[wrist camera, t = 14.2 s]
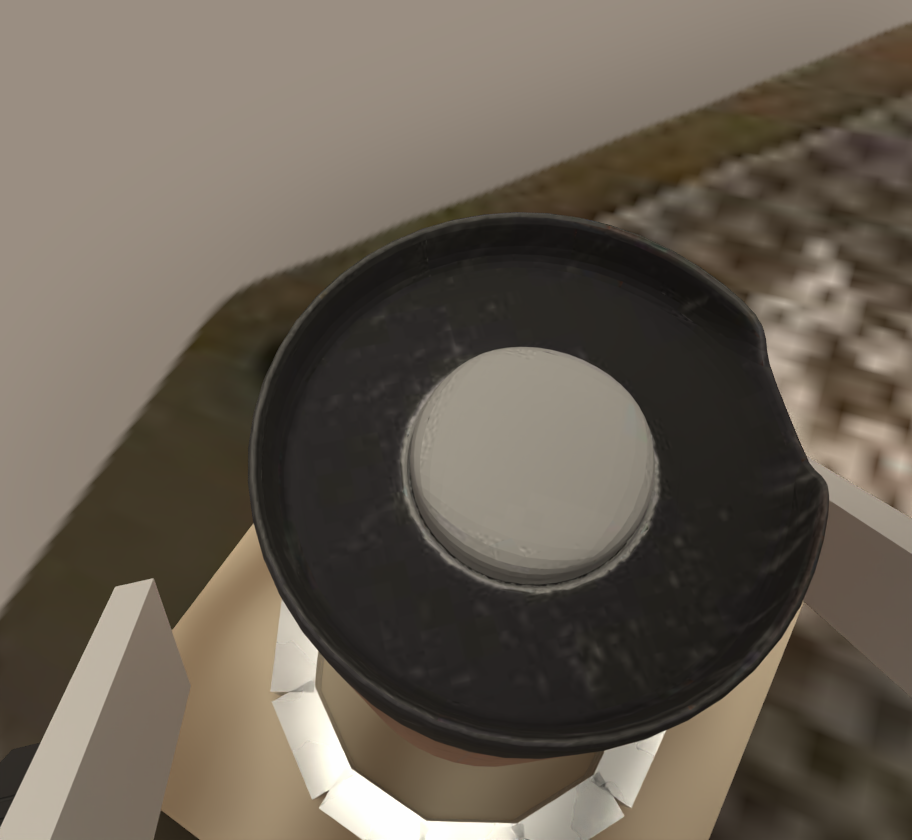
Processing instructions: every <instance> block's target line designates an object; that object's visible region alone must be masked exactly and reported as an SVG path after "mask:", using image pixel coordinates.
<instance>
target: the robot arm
mask: <svg viewBox="0 0 912 840" xmlns="http://www.w3.org/2000/svg"><path fill="white" fill-rule="evenodd" d="M807 459H808V461H809V463H810V464H811V465H812V467H813V468H814V469H815V470H816V471H817V472H818V473H819V474H820V475H821V476H822V477H823V478H824V480H825V481H826V483H827V485H828V490H829V511H828V520H827V525H826V531H825V537H824V542H823V545H822V549H821V552H820V556H819V560H818V563H817V567H816V570H815V573H814V575H813V578H812V580H811V583H810V585H809V588H808V590H807V592H806V595H805V597H804V600H803V601H804V602H805V603H806V604H807V605H809V606H810V607H811V608H812V609H813V610H814V611H815V612H816V613H817V614H819V615H820V616H821V617H822V618H823V619H824V620H825V621H826V622H828V623H829V624H830V625H831V626H832V627H833V628H834V629H835V630H836V631H838V632H839V633H840V634H841V635H842V636H843V637H844V638H845V639H847V640H848V641H849V642H850V643H851V644H852V645H853V646H854V647H855V648H857V649H858V650H859V651H860V652H861V653H862V654H863V655H864V656H866V657H867V658H868V659H869V660H870V661H871V662H872V663H873V664H875V665H876V666H877V667H878V668H879V669H880V670H881V671H882V672H883V673H885V674H886V675H887V676H888V677H889V678H890V679H891V680H892V681H894V682H895V683H896V684H897V685H898V686H899V687H900V688H901V689H902V690H904V691H905V692H906V693H907V694H908V695H909V696H910V697H911V698H912V518H910V517H908V516H907V515H905V514H903V513H902V512H900V511H898V510H896V509H895V508H893V507H891V506H890V505H888V504H886V503H885V502H883V501H881V500H880V499H878V498H876V497H875V496H873V495H871V494H869V493H868V492H866V491H864V490H863V489H861V488H859V487H858V486H856V485H854V484H853V483H851V482H849V481H848V480H846V479H844V478H842V477H841V476H839V475H837V474H836V473H834V472H832V471H831V470H829V469H827V468H826V467H824V466H822V465H821V464H819V463H817V462H815V461H814V460H812V459H810V458H809V457H807ZM190 687H191V685H190V682H189V679H188V677H187V674H186V671H185V668H184V665H183V662H182V659H181V656H180V653H179V650H178V648H177V645H176V642H175V639H174V636H173V633H172V630H171V627H170V624H169V621H168V619H167V616H166V613H165V610H164V607H163V604H162V601H161V598H160V595H159V593H158V590H157V587H156V584H155V581H154V578H153V579H148V580H144V581H139V582H135V583H130V584H126V585H121V586H117V587H115V589H114V591H113V593H112V595H111V597H110V599H109V601H108V603H107V605H106V607H105V609H104V611H103V614H102V616H101V618H100V620H99V622H98V624H97V626H96V628H95V630H94V632H93V634H92V637H91V639H90V641H89V643H88V645H87V647H86V649H85V651H84V653H83V655H82V657H81V660H80V662H79V664H78V666H77V668H76V670H75V672H74V674H73V676H72V678H71V680H70V683H69V685H68V687H67V689H66V691H65V693H64V695H63V697H62V699H61V701H60V703H59V706H58V708H57V710H56V712H55V714H54V716H53V718H52V720H51V722H50V724H49V726H48V729H47V731H46V733H45V735H44V737H43V739H42V741H41V743H37V744H33V745H29V746H25V747H20V748H16V749H12V750H11V751H10V753H9V754H8V755H7V756H6V757H5V758H4V759H3V760H2V761H1V762H0V840H154V835H155V831H156V827H157V823H158V819H159V815H160V811H161V807H162V802H163V798H164V794H165V790H166V786H167V782H168V778H169V774H170V769H171V765H172V761H173V757H174V753H175V749H176V745H177V741H178V736H179V732H180V728H181V724H182V720H183V716H184V712H185V708H186V703H187V699H188V695H189V691H190Z"/></svg>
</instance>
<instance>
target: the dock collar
mask: <svg viewBox="0 0 912 840" xmlns="http://www.w3.org/2000/svg"><path fill="white" fill-rule="evenodd" d="M323 663H324V657H323V656H322V655H321V654H320V652H319V651H318V650H317V649H316V648H315V647H314V645H313V644H312V643H311V642H310V641H309V639H308V638H307V637H306V636H305V635H304V633H303V632H302V631H301V629H300V627H299V626H298V624H297V623H296V621H295V619H294V618H293V616H292V615H291V613H290V611H289V610H288V608H287V607H286V605H285V603H284V602H283V600H282V601H281V610H280V618H279V626H278V634H277V642H276V650H275V658H274V666H273V674H272V682H271V690H270V692H273V693H275V694H277V695H283V696H281V697H279V698H278V699H276V700H274V701H272V704H273V706H274V709H275V711H276V714H277V716H278V718H279V721H280V723H281V726H282V728H283V730H284V733H285V735H286V738H287V740H288V743H289V745H290V747H291V750H292V752H293V755H294V757H295V760H296V762H297V764H298V767H299V769H300V772H301V774H302V777H303V779H304V781H305V784H306V786H307V789H308V791H309V793H310V796H311V798H312V800H313V799H317V798H320V797H321V796H323V795H325V794H326V793H328V794H327V795H326V797H325V799H324V800H323V802H322V804H321V805H320V807H319V809H321V810H322V811H323V812H325V813H326V814H327V815H329V816H330V817H332V818H333V819H334V820H336V821H337V822H339V823H340V824H341V825H343V826H344V827H346V828H347V829H348V830H350V831H351V832H352V833H354V834H355V835H357V836H358V837H359V838H361V839H362V840H589V839H591V838H592V837H594V836H595V835H597V834H598V833H600V832H601V831H603V830H604V829H606V828H607V827H609V826H610V825H612V824H613V823H615V822H616V821H618V820H620V819H621V818H623V817H624V814H623V813H622V811H621V809H620V807H619V806H618V804H619V805H621V806H624V807H629V808H632V805H633V803H634V801H635V799H636V796H637V794H638V792H639V790H640V788H641V785H642V783H643V781H644V779H645V776H646V774H647V772H648V770H649V767H650V765H651V763H652V761H653V759H654V756H655V754H656V752H657V750H658V747H659V745H660V743H661V741H662V738H663V736H664V734H665V732H666V731H664V732H661V733H659V734H657V735H654V736H652V737H650V738H648V739H645V740H642V741H638V742H634V743H631V744H627V745H623V746H620V747H616V748H612V749H609V750H605V751H599V752H596V754H595V756H594V758H593V760H592V762H591V764H590V766H589V768H588V770H587V772H586V774H585V775H584V776H582V777H581V778H579V779H578V780H576V781H574V782H573V783H571V784H570V785H568V786H567V787H565V788H563V789H562V790H560V791H559V792H557V793H556V794H554V795H552V796H551V797H549V798H548V799H546V800H544V801H543V802H541V803H540V804H538V805H537V806H535V807H533V808H532V809H530V810H529V811H527V812H526V813H524V814H522V815H521V816H519V817H518V818H516V819H515V820H478V819H440V818H426V817H425V816H423V815H422V814H420V813H419V812H417V811H416V810H414V809H413V808H412V807H410V806H409V805H407V804H406V803H404V802H403V801H402V800H400V799H399V798H397V797H396V796H394V795H393V794H392V793H390V792H389V791H387V790H386V789H384V788H383V787H382V786H380V785H379V784H377V783H376V782H374V781H373V780H372V779H370V778H369V777H367V776H366V775H364V774H363V773H361V772H360V771H359V770H357V769H356V768H355V766H354V764H353V761H352V759H351V757H350V755H349V752H348V750H347V748H346V746H345V743H344V741H343V739H342V736H341V734H340V732H339V730H338V727H337V725H336V723H335V721H334V718H333V716H332V714H331V712H330V709H329V707H328V705H327V702H326V700H325V698H324V696H323V693H322V691H321V684H322V674H323Z"/></svg>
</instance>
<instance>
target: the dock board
mask: <svg viewBox="0 0 912 840" xmlns="http://www.w3.org/2000/svg"><path fill="white" fill-rule="evenodd" d="M281 601H282V598H281V597H280V595H279V593H278V590H277V588H276V586H275V584H274V581H273V579H272V577H271V574H270V572H269V570H268V568H267V565H266V563H265V561H264V559H263V555H262V552H261V548H260V544H259V541H258V537H257V534H256V530H255V526H254V524H253V525H252V526H251V527H250V529H249V530H248V531H247V533H246V534H245V535H244V537H243V538H242V539H241V541H240V542H239V543H238V545H237V546H236V547H235V549H234V550H233V551H232V552H231V554H230V555H229V556H228V558H227V559H226V560H225V562H224V563H223V564H222V566H221V567H220V568H219V570H218V571H217V572H216V574H215V575H214V576H213V577H212V579H211V580H210V581H209V583H208V584H207V585H206V587H205V588H204V589H203V591H202V592H201V593H200V595H199V596H198V597H197V599H196V600H195V601H194V602H193V604H192V605H191V606H190V608H189V609H188V610H187V612H186V613H185V614H184V616H183V617H182V618H181V620H180V621H179V622H178V624H177V625H176V626H175V628H174V629H173V630H172V633H173V636H174V639H175V642H176V645H177V648H178V650H179V653H180V656H181V659H182V662H183V665H184V668H185V671H186V674H187V677H188V679H189V682H190V685H191V687H190V691H189V695H188V699H187V703H186V708H185V712H184V716H183V720H182V724H181V728H180V732H179V736H178V741H177V745H176V749H175V753H174V757H173V761H172V765H171V769H170V774H169V778H168V782H167V786H166V790H165V794H164V798H163V802H162V807H161V810H162V811H163V812H164V813H166V814H167V815H168V816H170V817H171V818H172V819H174V820H175V821H176V822H177V823H179V824H180V825H181V826H183V827H184V828H185V829H187V830H188V831H189V832H191V833H192V834H193V835H195V836H196V837H197V838H198V839H200V840H362V839H361V838H359V837H358V836H357V835H355V834H354V833H352V832H351V831H350V830H348V829H347V828H346V827H344V826H343V825H341V824H340V823H339V822H337V821H336V820H334V819H333V818H332V817H330V816H329V815H327V814H326V813H325V812H323V811H322V810H321V809H319V807H320V805H321V804H322V802H323V800H324V799H325V797H326V795H327V794H328V793H326V794H325V795H323V796H321V797H320V798H317V799H313V800H312V798H311V796H310V793H309V791H308V789H307V786H306V784H305V781H304V779H303V777H302V774H301V772H300V769H299V767H298V764H297V762H296V760H295V757H294V755H293V752H292V750H291V747H290V745H289V743H288V740H287V738H286V735H285V733H284V730H283V728H282V726H281V723H280V721H279V718H278V716H277V714H276V711H275V709H274V706H273V704H272V701H274V700H276V699H278V698H279V697H281V696H283V695H277V694H275V693H273V692H270V690H271V682H272V674H273V666H274V658H275V650H276V642H277V634H278V626H279V618H280V610H281ZM803 603H804V601H803V602H802V604H801V606H800V608H799V610H798V611H797V613H796V615H795V616H794V618H793V620H792V621H791V623H790V625H789V627H788V628H787V630H786V632H785V633H784V635H783V637H782V638H781V639H780V641H779V642H778V643H777V644H776V645H775V647H774V648H773V649H772V650H771V651H770V653H769V654H768V655H767V656H766V657H765V659H764V660H763V661H762V662H761V663H760V665H759V666H758V667H757V668H756V669H755V670H754V671H753V672H752V673H751V674H750V675H749V676H748V677H747V678H746V679H744V680H743V681H742V682H741V683H740V684H739V685H738V686H736V687H735V688H734V689H733V690H732V691H731V692H730V693H729V694H727V695H726V696H725V697H724V698H723V699H721V700H720V701H718V702H716V703H715V704H713V705H712V706H710V707H709V708H707V709H705V710H704V711H702V712H701V713H699V714H698V715H696V716H694V717H693V718H691V719H690V720H688V721H686V722H684V723H682V724H679V725H677V726H675V727H673V728H670V729H668V730H666V732H665V734H664V736H663V738H662V741H661V743H660V745H659V747H658V750H657V752H656V754H655V756H654V759H653V761H652V763H651V765H650V767H649V770H648V772H647V774H646V776H645V779H644V781H643V783H642V785H641V788H640V790H639V792H638V794H637V796H636V799H635V801H634V803H633V805H632V808H629V807H624V806H621V805H619V804H618V806H619V807H620V809H621V811H622V813H623V814H624V817H623V818H621V819H620V820H618V821H616V822H615V823H613V824H612V825H610V826H609V827H607V828H606V829H604V830H603V831H601V832H600V833H598V834H597V835H595V836H594V837H592V838H591V839H589V840H709V837H710V835H711V832H712V830H713V827H714V825H715V822H716V820H717V817H718V815H719V812H720V810H721V807H722V805H723V802H724V800H725V797H726V795H727V792H728V790H729V787H730V785H731V782H732V780H733V777H734V775H735V772H736V770H737V767H738V765H739V762H740V760H741V758H742V755H743V753H744V750H745V748H746V745H747V743H748V740H749V738H750V735H751V733H752V730H753V728H754V725H755V723H756V720H757V718H758V715H759V713H760V710H761V708H762V705H763V703H764V700H765V698H766V695H767V693H768V690H769V688H770V685H771V683H772V680H773V678H774V675H775V673H776V670H777V668H778V665H779V663H780V660H781V658H782V655H783V653H784V650H785V648H786V645H787V643H788V640H789V638H790V635H791V633H792V630H793V628H794V625H795V623H796V620H797V618H798V615H799V613H800V610H801V608H802V605H803ZM321 691H322V693H323V696H324V698H325V700H326V702H327V705H328V707H329V709H330V712H331V714H332V716H333V718H334V721H335V723H336V725H337V727H338V730H339V732H340V734H341V736H342V739H343V741H344V743H345V746H346V748H347V750H348V752H349V755H350V757H351V759H352V761H353V764H354V766H355V768H356V769H357V770H359V771H360V772H361V773H363V774H364V775H366V776H367V777H369V778H370V779H372V780H373V781H374V782H376V783H377V784H379V785H380V786H382V787H383V788H384V789H386V790H387V791H389V792H390V793H392V794H393V795H394V796H396V797H397V798H399V799H400V800H402V801H403V802H404V803H406V804H407V805H409V806H410V807H412V808H413V809H414V810H416V811H417V812H419V813H420V814H422V815H423V816H425V817H426V818H440V819H478V820H515V819H516V818H518V817H519V816H521V815H522V814H524V813H526V812H527V811H529V810H530V809H532V808H533V807H535V806H537V805H538V804H540V803H541V802H543V801H544V800H546V799H548V798H549V797H551V796H552V795H554V794H556V793H557V792H559V791H560V790H562V789H563V788H565V787H567V786H568V785H570V784H571V783H573V782H574V781H576V780H578V779H579V778H581V777H582V776H584V775H585V774H586V772H587V770H588V768H589V766H590V764H591V762H592V760H593V758H594V756H595V754H596V752H592V753H585V754H579V755H572V756H566V757H560V758H553V759H547V760H540V761H534V762H528V763H521V764H514V765H506V766H498V767H487V766H471V765H465V764H460V763H454V762H451V761H448V760H445V759H442V758H439V757H436V756H434V755H432V754H430V753H428V752H425V751H423V750H421V749H419V748H417V747H416V746H414V745H413V744H411V743H410V742H408V741H407V740H405V739H404V738H402V737H401V736H399V735H398V734H397V733H396V732H395V731H394V730H393V729H392V728H391V727H389V726H388V725H387V724H386V723H385V722H384V721H383V720H382V719H381V718H380V717H379V716H378V715H377V714H376V713H375V711H374V710H373V709H372V708H371V707H370V706H369V705H368V704H367V703H366V702H365V701H364V700H363V699H362V698H361V697H360V696H359V695H358V694H357V693H356V691H355V690H354V689H353V688H352V687H351V686H350V685H349V684H348V683H347V682H346V681H345V680H344V679H343V678H342V677H341V676H340V675H339V674H338V673H337V672H336V671H335V670H334V668H333V667H332V666H331V665H330V664H329V663H328V662H327V661H326V660H325V658H324V663H323V674H322V684H321Z"/></svg>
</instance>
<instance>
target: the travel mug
mask: <svg viewBox="0 0 912 840" xmlns="http://www.w3.org/2000/svg"><path fill="white" fill-rule="evenodd" d="M248 486H249V493H250V501H251V509H252V517H253V523H254V526H255V530H256V534H257V537H258V541H259V544H260V548H261V552H262V555H263V559H264V561H265V563H266V565H267V568H268V570H269V572H270V574H271V577H272V579H273V581H274V584H275V586H276V588H277V590H278V593H279V595H280V597H281V598H282V600H283V602H284V603H285V605H286V607H287V608H288V610H289V611H290V613H291V615H292V616H293V618H294V619H295V621H296V623H297V624H298V626H299V627H300V629H301V631H302V632H303V633H304V635H305V636H306V637H307V638H308V639H309V641H310V642H311V643H312V644H313V645H314V647H315V648H316V649H317V650H318V651H319V652H320V654H321V655H322V656H323V657H324V658H325V660H326V661H327V662H328V663H329V664H330V665H331V666H332V667H333V668H334V670H335V671H336V672H337V673H338V674H339V675H340V676H341V677H342V678H343V679H344V680H345V681H346V682H347V683H348V684H349V685H350V686H351V687H352V688H353V689H354V690H355V691H356V693H357V694H358V695H359V696H360V697H361V698H362V699H363V700H364V701H365V702H366V703H367V704H368V705H369V706H370V707H371V708H372V709H373V710H374V711H375V713H376V714H377V715H378V716H379V717H380V718H381V719H382V720H383V721H384V722H385V723H386V724H387V725H388V726H389V727H391V728H392V729H393V730H394V731H395V732H396V733H397V734H398V735H399V736H401V737H402V738H404V739H405V740H407V741H408V742H410V743H411V744H413V745H414V746H416V747H417V748H419V749H421V750H423V751H425V752H428V753H430V754H432V755H434V756H436V757H439V758H442V759H445V760H448V761H451V762H454V763H460V764H465V765H471V766H487V767H498V766H506V765H514V764H521V763H528V762H534V761H540V760H547V759H553V758H560V757H566V756H572V755H579V754H585V753H592V752H599V751H605V750H609V749H612V748H616V747H620V746H623V745H627V744H631V743H634V742H638V741H642V740H645V739H648V738H650V737H652V736H654V735H657V734H659V733H661V732H664V731H666V730H668V729H670V728H673V727H675V726H677V725H679V724H682V723H684V722H686V721H688V720H690V719H691V718H693V717H694V716H696V715H698V714H699V713H701V712H702V711H704V710H705V709H707V708H709V707H710V706H712V705H713V704H715V703H716V702H718V701H720V700H721V699H723V698H724V697H725V696H726V695H727V694H729V693H730V692H731V691H732V690H733V689H734V688H735V687H736V686H738V685H739V684H740V683H741V682H742V681H743V680H744V679H746V678H747V677H748V676H749V675H750V674H751V673H752V672H753V671H754V670H755V669H756V668H757V667H758V666H759V665H760V663H761V662H762V661H763V660H764V659H765V657H766V656H767V655H768V654H769V653H770V651H771V650H772V649H773V648H774V647H775V645H776V644H777V643H778V642H779V641H780V639H781V638H782V637H783V635H784V633H785V632H786V630H787V628H788V627H789V625H790V623H791V621H792V620H793V618H794V616H795V615H796V613H797V611H798V610H799V608H800V606H801V604H802V602H803V600H804V597H805V595H806V592H807V590H808V588H809V585H810V583H811V580H812V578H813V575H814V573H815V570H816V567H817V563H818V560H819V556H820V552H821V549H822V545H823V542H824V537H825V531H826V525H827V520H828V511H829V490H828V485H827V483H826V481H825V480H824V478H823V477H822V476H821V475H820V474H819V473H818V472H817V471H816V470H815V469H814V468H813V467H812V465H811V464H810V463H809V461H808V459H807V456H806V454H805V452H804V450H803V448H802V446H801V443H800V441H799V439H798V436H797V434H796V431H795V429H794V427H793V424H792V422H791V419H790V417H789V414H788V412H787V409H786V407H785V404H784V402H783V399H782V397H781V394H780V392H779V389H778V387H777V384H776V381H775V378H774V375H773V373H772V370H771V367H770V364H769V359H768V354H767V345H766V338H765V333H764V329H763V327H762V325H761V323H760V321H759V320H758V318H757V316H756V315H755V314H754V313H753V312H752V310H751V309H750V308H749V307H748V306H747V305H746V304H745V303H744V302H743V301H742V300H741V299H740V298H739V297H738V296H737V295H735V294H734V293H733V292H732V291H731V290H730V289H729V288H727V287H726V286H725V285H724V284H723V283H721V282H720V281H719V280H717V279H716V278H714V277H713V276H712V275H710V274H709V273H707V272H706V271H705V270H703V269H702V268H701V267H699V266H697V265H696V264H694V263H692V262H691V261H689V260H687V259H686V258H684V257H682V256H681V255H679V254H677V253H676V252H674V251H672V250H670V249H668V248H666V247H664V246H662V245H660V244H658V243H656V242H653V241H651V240H649V239H647V238H645V237H643V236H640V235H637V234H634V233H632V232H629V231H626V230H623V229H620V228H617V227H614V226H612V225H608V224H604V223H599V222H595V221H591V220H587V219H583V218H578V217H571V216H563V215H556V214H549V213H521V212H514V213H499V214H485V215H479V216H473V217H468V218H462V219H456V220H451V221H448V222H445V223H441V224H438V225H434V226H431V227H427V228H424V229H421V230H419V231H416V232H414V233H411V234H409V235H407V236H404V237H402V238H399V239H397V240H395V241H392V242H391V243H389V244H387V245H385V246H383V247H382V248H380V249H378V250H376V251H374V252H373V253H371V254H369V255H367V256H366V257H364V258H363V259H361V260H360V261H359V262H357V263H356V264H354V265H353V266H352V267H350V268H349V269H347V270H346V271H345V272H343V273H342V274H341V275H339V276H338V277H337V278H336V279H335V280H334V281H333V282H332V283H331V284H330V285H329V286H327V287H326V288H325V289H324V290H323V291H322V292H321V293H320V294H319V295H318V296H317V297H316V298H315V299H314V300H313V301H312V303H311V304H310V305H309V306H308V307H307V309H306V310H305V311H304V312H303V313H302V315H301V316H300V317H299V318H298V319H297V321H296V322H295V324H294V325H293V327H292V328H291V330H290V331H289V333H288V335H287V336H286V338H285V339H284V341H283V342H282V344H281V346H280V347H279V349H278V351H277V353H276V355H275V357H274V359H273V362H272V364H271V366H270V368H269V370H268V372H267V374H266V377H265V379H264V381H263V384H262V388H261V391H260V394H259V398H258V401H257V404H256V407H255V411H254V415H253V421H252V428H251V434H250V440H249V448H248Z"/></svg>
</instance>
